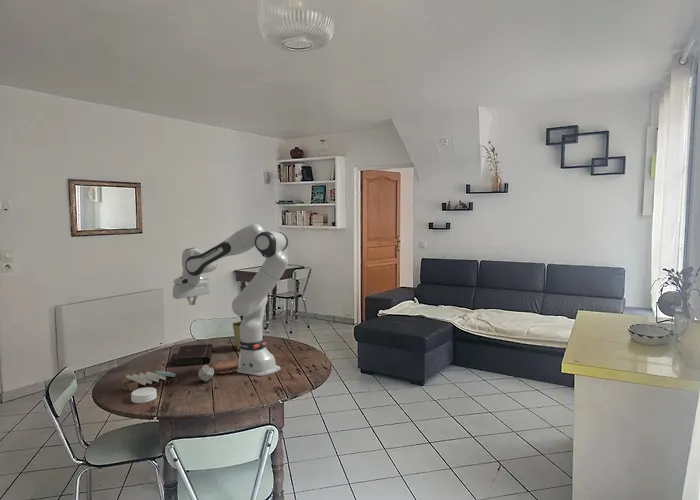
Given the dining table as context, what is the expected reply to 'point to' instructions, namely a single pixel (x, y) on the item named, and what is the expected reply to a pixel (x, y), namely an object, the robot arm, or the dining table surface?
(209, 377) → the game die
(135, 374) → the domino
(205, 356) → the diary
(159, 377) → the domino
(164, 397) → the dining table surface
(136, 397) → the coaster
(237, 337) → the potted cactus
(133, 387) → the block
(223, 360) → the dining table surface
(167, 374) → the domino
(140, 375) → the domino
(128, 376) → the domino
